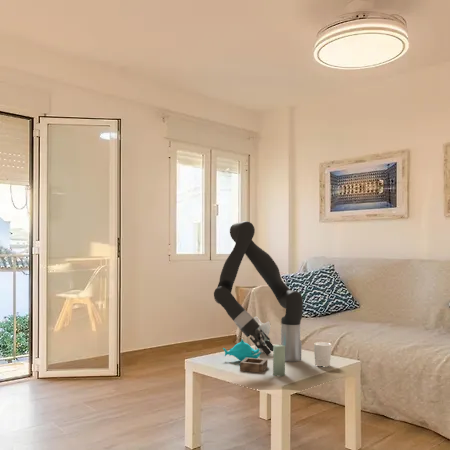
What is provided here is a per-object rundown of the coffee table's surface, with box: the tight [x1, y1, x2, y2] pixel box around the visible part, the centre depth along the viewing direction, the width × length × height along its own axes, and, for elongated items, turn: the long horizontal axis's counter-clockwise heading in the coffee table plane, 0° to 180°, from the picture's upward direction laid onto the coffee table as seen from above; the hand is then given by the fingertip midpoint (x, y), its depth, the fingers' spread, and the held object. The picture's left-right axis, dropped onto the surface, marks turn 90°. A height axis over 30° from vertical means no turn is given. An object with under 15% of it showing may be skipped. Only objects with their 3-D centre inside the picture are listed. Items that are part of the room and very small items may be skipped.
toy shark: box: [222, 338, 262, 362], centre depth 227 cm, size 10×18×11 cm, turn 88°
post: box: [272, 344, 286, 377], centre depth 204 cm, size 5×5×12 cm
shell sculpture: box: [253, 316, 271, 354], centre depth 247 cm, size 8×8×18 cm
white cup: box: [313, 341, 332, 367], centre depth 221 cm, size 8×8×10 cm
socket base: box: [239, 357, 268, 373], centre depth 213 cm, size 10×10×4 cm
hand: (271, 352), depth 206 cm, fingers open, 8 cm apart
